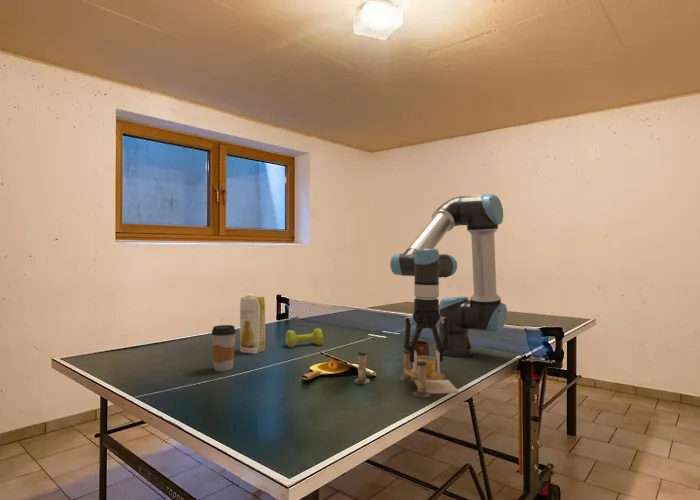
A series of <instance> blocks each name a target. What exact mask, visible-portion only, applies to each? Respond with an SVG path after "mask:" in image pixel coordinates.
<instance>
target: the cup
mask: <svg viewBox="0 0 700 500" xmlns="http://www.w3.org/2000/svg"><path fill="white" fill-rule="evenodd" d="M419 361H423V362H426V380H445V378H446V375H444V374H443V373H441V372H440V373H437V372H436V371H435V366H436V361H437V359H436V358H435V356H430V355H429V356H422V355H421V356H417V362H419ZM406 374H408V375H409V376H411V377H413V378H415V379H418V365H417V373H416V374H414V372H413V369H409V370H407V371H406Z"/></svg>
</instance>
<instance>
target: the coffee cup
mask: <svg viewBox="0 0 700 500" xmlns="http://www.w3.org/2000/svg"><path fill="white" fill-rule="evenodd" d="M236 330H237V329H236V328H235V326H234V325H232V324H230V325H229V324H223V325H222V324H221V325H215V326H213V327H212V329H211V335H212V336H211V338H212V339H211V340H212V356H213V357H212V359H213V368H214V370H215V372H220V373H221V372H229V371H232V370H233V368H234V357H235V347H236V346H235V345H236V344H235V343H236V342H235V341H236V333H237V331H236Z"/></svg>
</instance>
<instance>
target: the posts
mask: <svg viewBox="0 0 700 500" xmlns="http://www.w3.org/2000/svg"><path fill="white" fill-rule="evenodd" d="M409 353H410V352H409V350H406V349H403V376H401V377H399V381H400V382H402V383H407V384H408V383H409V384H411V383H415V380H417V385H416V386H417V388H416V389H417V390H415V391H413V392H412V396H413V397H415V398H418V399H428V398H430V397H431V393H429V392H426V362H423V361H419V362H417V365H418V378H417V379H416V378H414V377H411V376H409V375H408V374H406V371H407V370H409V369H411V361H410V359H409ZM357 355H358V364H357V365H358V369H357V371H358V378H355V379H354V384H357V385H369V384H370V383H371V380H370V379H369V378H367V351H363V350H362V351H358V352H357Z"/></svg>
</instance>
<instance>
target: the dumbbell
mask: <svg viewBox="0 0 700 500" xmlns="http://www.w3.org/2000/svg"><path fill="white" fill-rule="evenodd" d="M310 341H311V342H312V343H313V344H314V345H315V346H322V345H323V342H324V333H323V330H322V329H321V328H319V327H317V328H314V329H313V331H312V332H311V333H305V334H296V332H295V330H291V329H290V330H289V329H288V330H287V331H286V332H285V344H286V346H287V347H288V349H289V348H295V347H296V345H297V343H300V342H310Z"/></svg>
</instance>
